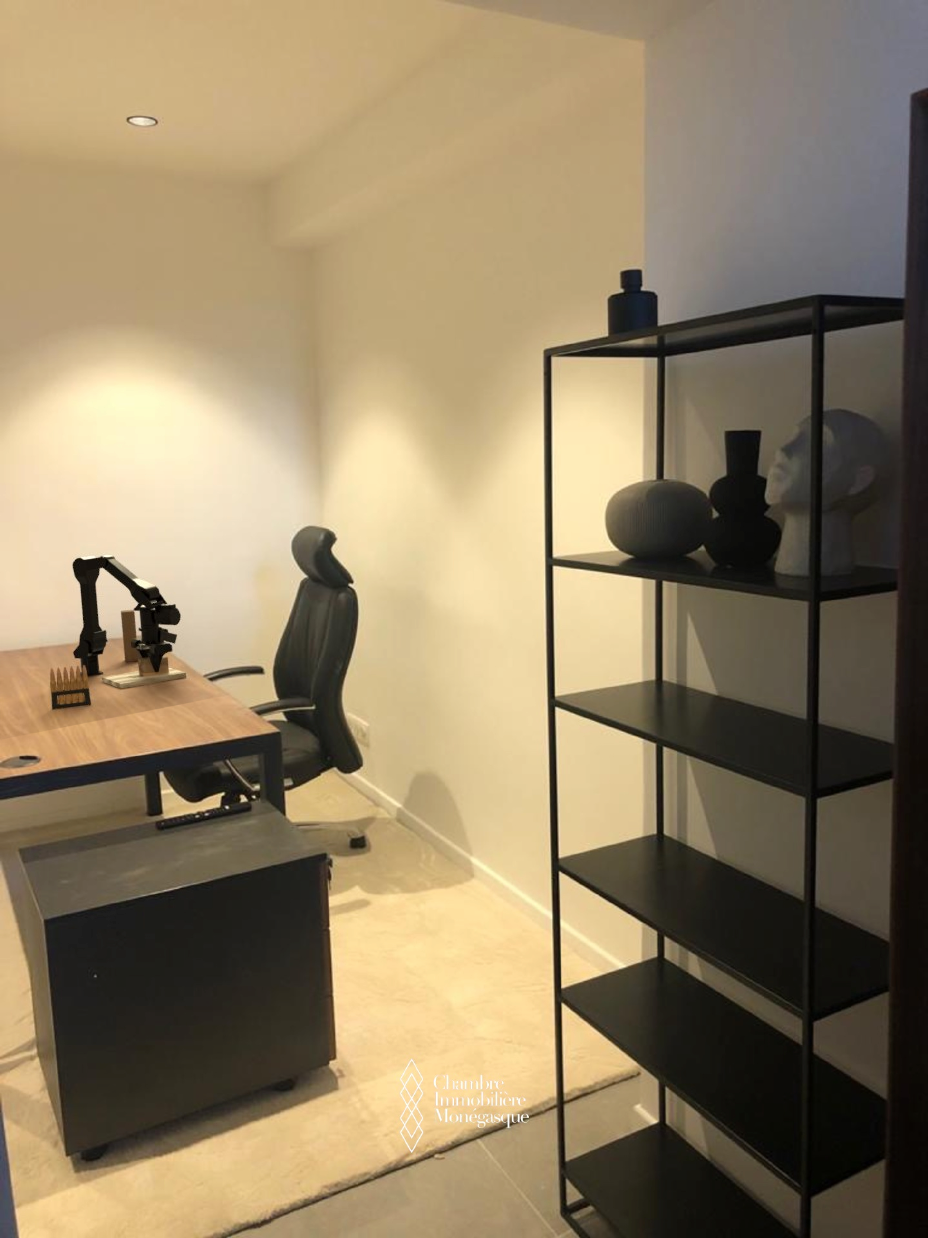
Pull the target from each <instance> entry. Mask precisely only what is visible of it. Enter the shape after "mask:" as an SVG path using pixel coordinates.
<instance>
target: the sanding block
mask: <svg viewBox="0 0 928 1238" xmlns="http://www.w3.org/2000/svg"><path fill="white" fill-rule="evenodd" d="M137 663H138V671H139V674H141V675H144V676H149V675H155V674H161V673H167V672H169V668H170V667H169V658H168V656H165V655H164V656H163V657H162V660H161V664H160V669H159V672H155V671H154V669H153V666H152V664H151V661H150V659H149V657H147V658H141V659H138V661H137Z"/></svg>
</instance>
